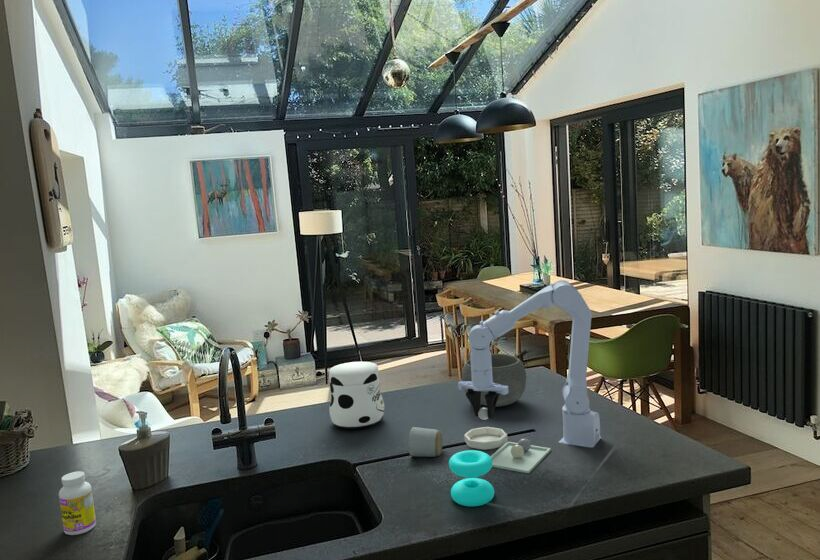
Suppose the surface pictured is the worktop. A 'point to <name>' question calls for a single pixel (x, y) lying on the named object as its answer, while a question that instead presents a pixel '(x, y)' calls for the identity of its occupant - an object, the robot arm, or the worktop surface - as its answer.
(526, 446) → the pebble slate
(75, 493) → the supplement bottle
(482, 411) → the pebble grey
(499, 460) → the parts tray
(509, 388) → the bowl
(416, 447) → the ceramic mug
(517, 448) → the beige round ball
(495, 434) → the stoneware bowl
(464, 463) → the donuts
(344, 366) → the milk container
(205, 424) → the worktop surface
